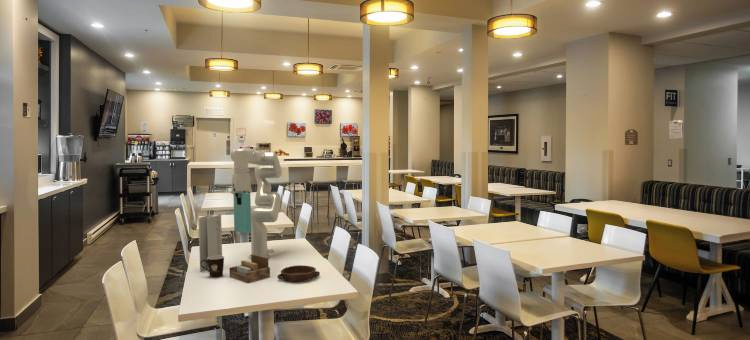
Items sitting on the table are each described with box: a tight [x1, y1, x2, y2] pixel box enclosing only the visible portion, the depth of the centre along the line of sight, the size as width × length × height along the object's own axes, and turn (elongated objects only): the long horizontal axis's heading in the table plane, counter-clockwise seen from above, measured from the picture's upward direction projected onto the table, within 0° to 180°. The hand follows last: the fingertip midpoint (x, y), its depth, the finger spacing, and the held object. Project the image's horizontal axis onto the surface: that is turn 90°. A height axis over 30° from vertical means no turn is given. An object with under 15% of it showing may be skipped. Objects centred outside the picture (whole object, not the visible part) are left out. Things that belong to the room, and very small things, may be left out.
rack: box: [228, 254, 271, 284], centre depth 248 cm, size 14×16×10 cm
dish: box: [276, 264, 320, 283], centre depth 245 cm, size 18×22×5 cm
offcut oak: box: [240, 259, 258, 271], centre depth 248 cm, size 2×12×8 cm, turn 49°
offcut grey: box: [236, 265, 251, 275], centre depth 245 cm, size 2×10×6 cm, turn 49°
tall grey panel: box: [198, 213, 223, 273], centre depth 264 cm, size 14×6×30 cm, turn 168°
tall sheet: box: [232, 192, 252, 235], centre depth 261 cm, size 3×12×22 cm, turn 49°
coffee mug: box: [199, 255, 225, 278], centre depth 251 cm, size 12×9×10 cm
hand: (242, 203), depth 260 cm, fingers closed on tall sheet, 3 cm apart
